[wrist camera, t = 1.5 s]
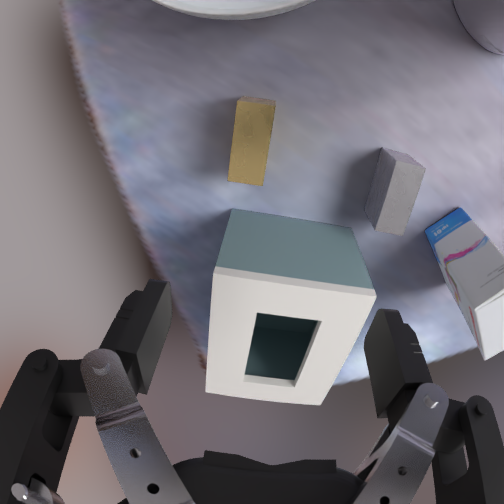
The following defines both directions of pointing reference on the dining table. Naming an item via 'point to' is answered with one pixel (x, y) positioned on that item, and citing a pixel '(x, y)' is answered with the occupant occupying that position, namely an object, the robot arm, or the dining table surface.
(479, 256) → the ink box
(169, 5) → the cereal bowl
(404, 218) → the grey rectangular block
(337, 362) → the box
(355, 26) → the dining table surface
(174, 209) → the dining table surface
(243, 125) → the block
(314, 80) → the dining table surface
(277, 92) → the dining table surface
